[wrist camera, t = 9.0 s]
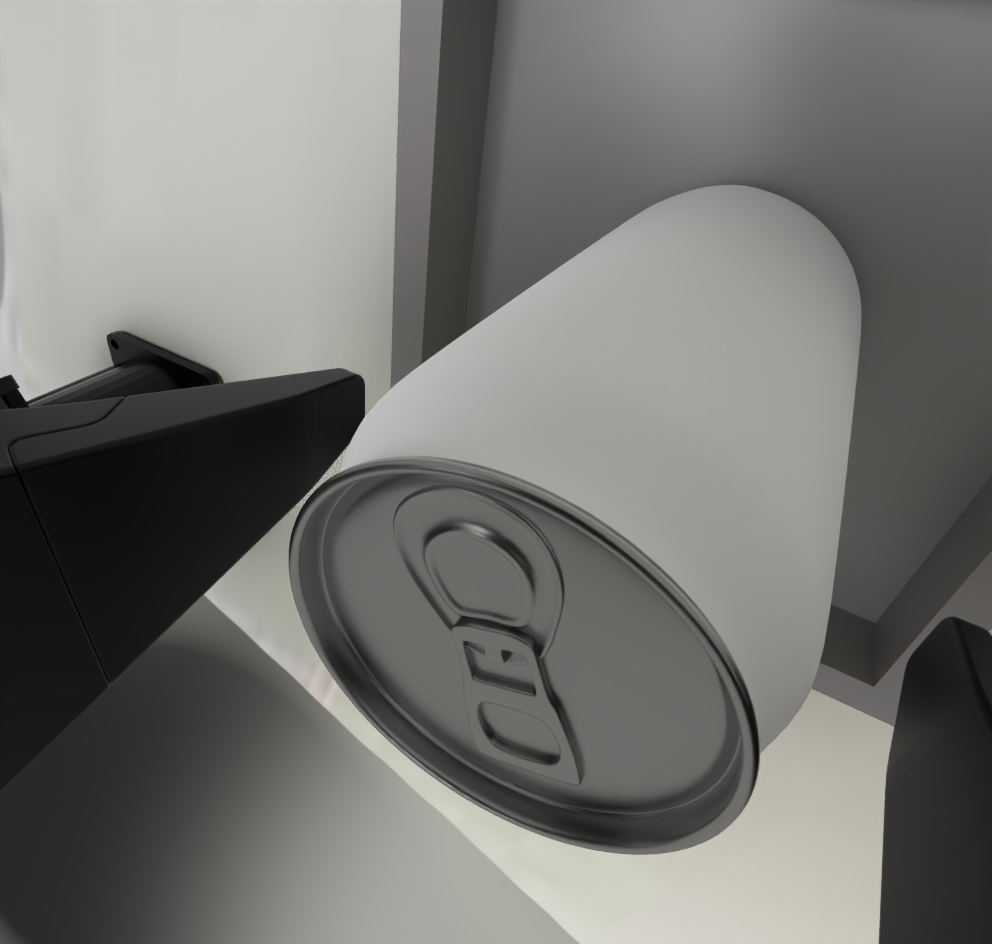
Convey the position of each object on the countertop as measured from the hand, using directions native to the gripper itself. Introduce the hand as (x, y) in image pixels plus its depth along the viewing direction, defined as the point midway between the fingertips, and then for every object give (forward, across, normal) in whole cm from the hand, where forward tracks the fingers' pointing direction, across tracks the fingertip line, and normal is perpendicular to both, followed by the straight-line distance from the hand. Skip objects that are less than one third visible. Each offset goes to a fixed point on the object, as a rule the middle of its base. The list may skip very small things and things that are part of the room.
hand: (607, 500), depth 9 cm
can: (+9, 0, 0) cm, 9 cm away
